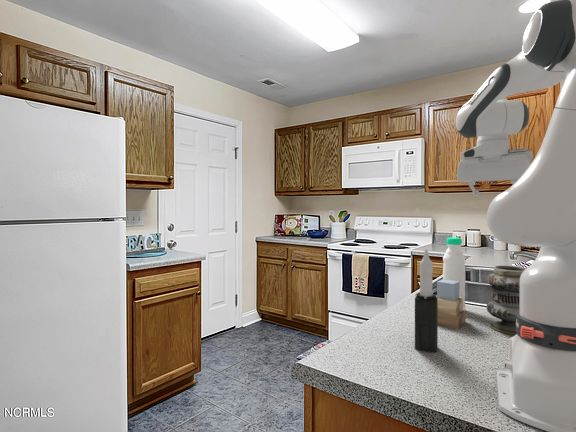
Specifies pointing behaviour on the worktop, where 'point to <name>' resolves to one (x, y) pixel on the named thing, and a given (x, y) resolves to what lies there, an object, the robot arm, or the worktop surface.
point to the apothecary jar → (505, 297)
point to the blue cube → (448, 289)
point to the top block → (450, 306)
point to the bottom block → (452, 319)
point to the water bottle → (455, 265)
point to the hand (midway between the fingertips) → (492, 195)
